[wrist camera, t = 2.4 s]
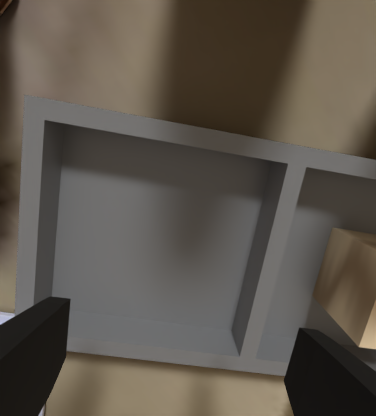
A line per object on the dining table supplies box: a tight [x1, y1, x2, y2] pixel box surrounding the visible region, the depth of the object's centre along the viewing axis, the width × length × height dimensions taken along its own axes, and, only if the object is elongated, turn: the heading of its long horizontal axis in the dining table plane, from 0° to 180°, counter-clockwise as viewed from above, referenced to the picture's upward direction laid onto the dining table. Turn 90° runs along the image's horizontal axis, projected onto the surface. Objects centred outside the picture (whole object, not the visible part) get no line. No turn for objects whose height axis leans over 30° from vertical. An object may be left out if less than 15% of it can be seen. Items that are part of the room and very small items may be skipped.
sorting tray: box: [15, 95, 376, 376], centre depth 17 cm, size 14×28×3 cm, turn 80°
